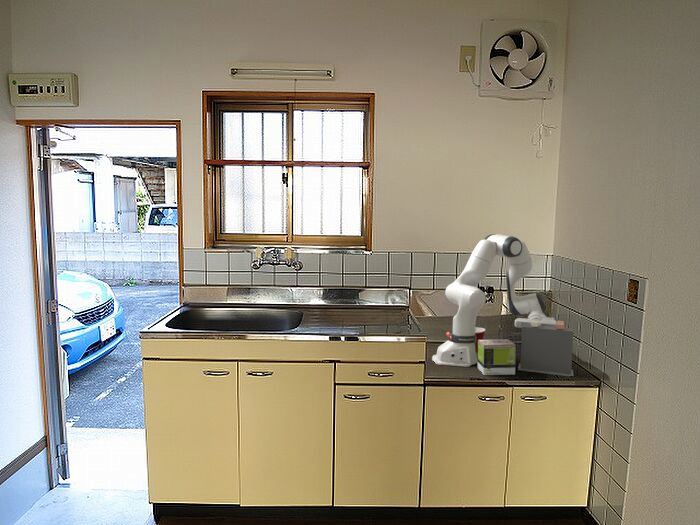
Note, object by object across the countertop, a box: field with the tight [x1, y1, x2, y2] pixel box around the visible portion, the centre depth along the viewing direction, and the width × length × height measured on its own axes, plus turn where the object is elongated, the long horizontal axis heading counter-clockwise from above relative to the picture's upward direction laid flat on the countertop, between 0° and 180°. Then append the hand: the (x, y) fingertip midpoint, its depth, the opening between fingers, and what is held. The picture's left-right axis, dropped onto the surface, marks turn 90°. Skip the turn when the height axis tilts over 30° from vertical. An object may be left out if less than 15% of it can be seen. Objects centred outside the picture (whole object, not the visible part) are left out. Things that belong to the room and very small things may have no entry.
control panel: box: [517, 324, 574, 377], centre depth 225 cm, size 24×8×21 cm, turn 67°
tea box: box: [477, 338, 517, 376], centre depth 224 cm, size 15×10×15 cm
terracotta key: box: [555, 320, 565, 329], centre depth 225 cm, size 4×10×7 cm, turn 157°
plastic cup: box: [475, 326, 486, 353], centre depth 258 cm, size 11×11×12 cm
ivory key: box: [531, 318, 539, 327], centre depth 229 cm, size 4×10×7 cm, turn 157°
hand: (535, 327), depth 236 cm, fingers closed
